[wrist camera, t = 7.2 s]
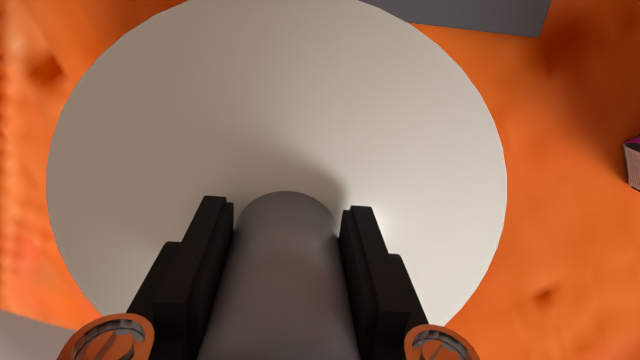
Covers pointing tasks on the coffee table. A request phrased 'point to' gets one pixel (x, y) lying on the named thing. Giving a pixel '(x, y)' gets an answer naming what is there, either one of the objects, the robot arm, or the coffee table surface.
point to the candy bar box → (633, 161)
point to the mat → (472, 14)
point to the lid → (277, 165)
